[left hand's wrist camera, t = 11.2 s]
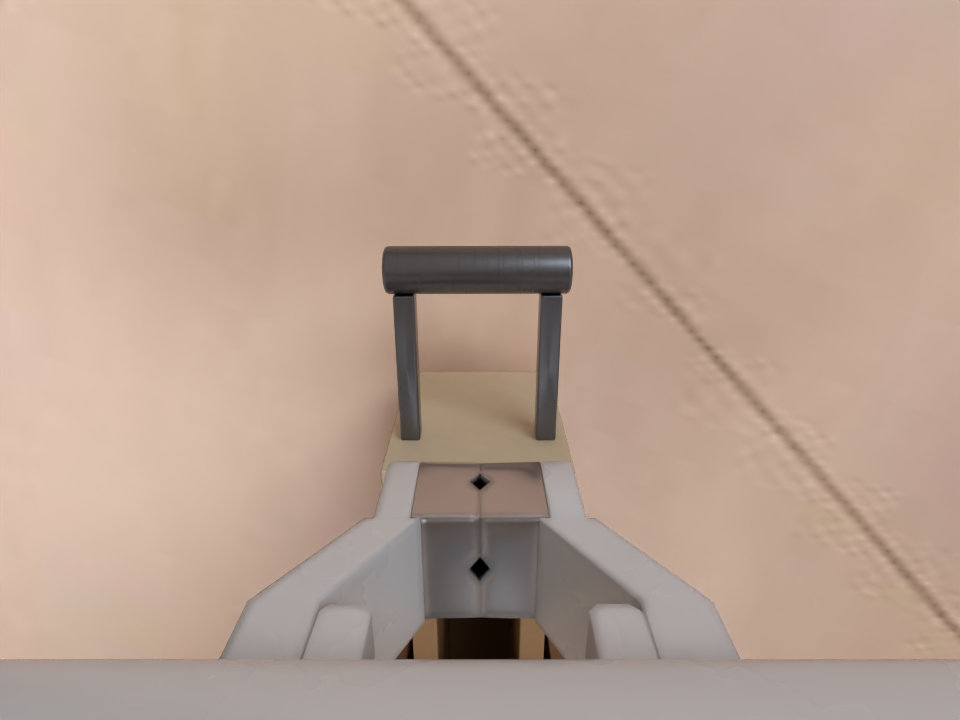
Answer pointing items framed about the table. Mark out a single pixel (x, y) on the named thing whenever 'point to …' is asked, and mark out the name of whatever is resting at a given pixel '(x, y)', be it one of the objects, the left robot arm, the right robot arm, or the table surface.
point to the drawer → (477, 402)
